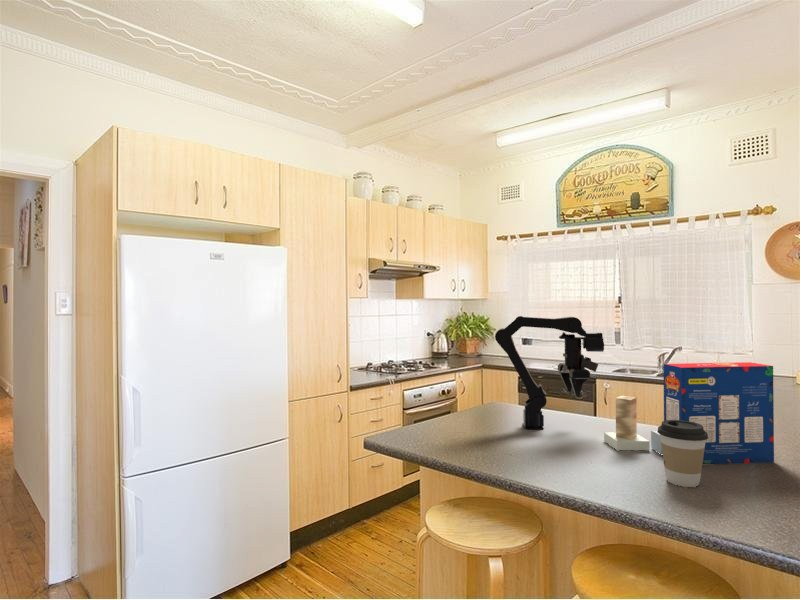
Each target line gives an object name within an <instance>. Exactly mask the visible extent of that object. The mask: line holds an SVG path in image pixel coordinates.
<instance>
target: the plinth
mask: <svg viewBox="0 0 800 600" xmlns="http://www.w3.org/2000/svg"><path fill="white" fill-rule="evenodd" d="M604 441H605V443H606V442H607V443H608V444H609V446H610V445H611V446H612V447H613V448H612V447H611V446H610V447H611V448H612V449H614V448H615V449H616V450H650V449H651V443H650V441H649V440H648V439H646V438H644V437H643V436H642V435H639V434H638V433H637V436H636V437H634V438H633V439H631V440H630V439H625V438H620V437H616V431H615V432H613V431H612V432H609V431H607V432H606V431H605V432H603V442H604ZM607 443H606V444H607ZM608 444H607V445H608ZM615 449H614V450H615ZM616 450H615V451H616Z"/></svg>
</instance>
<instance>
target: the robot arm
mask: <svg viewBox="0 0 800 600" xmlns="http://www.w3.org/2000/svg"><path fill="white" fill-rule="evenodd" d="M582 324H583V323H582V321H581V320H580V319H579V318H578V317H575V316H567V317H566V316H565V317H558V318H549V317H548V318H547V317H531V316H522V315H518V316H517V317H516V318H515V319H514V320H513V321H511V322H510V323H509V324H508V325H507V326H505V328H504V327H503V328H499V329H497V331H496V333H495V335H494V338H495V341H496V343H497V344H498V345H499V346H500V347H501V349H502V350H503V351H504V352H505V353H506V355H507V356H508V358H509V360H510V362H511V363H512V365H513V368H514V369H515V370H516V372H517V374H518V376H519V378H520V380H521V382H522V383H523V385H524V387H525V391H526V393H527V396H528V399H527V400H526V401H525V402H524V409H523V411H522V412H523V414H522V415H523V416H522V417H523V418H522V419H523V420H522V421H523V423H522V426H523V428H524V429H526V430H544V429H545V428H544V426H545V425H544V424H545V422H544V420H545V418H544V417H545V415H543V411H542V409H543V408H545V406H546V404H547V397H548V395H547V392H546V391H545V390H544V388H543V386H542V383H538V384H537V383H536V381H535V380H534V379H533V377H532V375H531V373H530V371H529V369H528V368H527V367H526V365H525V363H524V361H523V359H522V357H521V356H520V354H519V352H518V350H517V348H516V345H515V343H514V342H515V341H514V339H513V335H514V334H516V333H517V332H518V331H519V330H520V329H521V328H522V327H524V328H525V327H526V328H539V329H540V328H541V329H554V330H558V331H561V332H562V331H563V332H562V334H561V335H559V336H558V338H559V339H560V340H564V353H563V354H562V357H564V362H560V363H559V364H558V365H557V371H558V374H559V376H560V377H561V380H562V381H563V383H564V386H565V388H566V390H567V392H568V393H569V392H570V393H571V392H572V390H573V392H574V395H575V397H577V398H579V397H580V396H581V392H582V388H583V385H584V383H585V382H586V381H588V380H589V379H590V378H591V372H590V371H592V372H595V373H596V372H597V370H598V367H599V363H597V362H594V361H592V358H590V357H587V356H585V355H584V354H582V349H583V350H584V349H585V351H586V352H587V353H588V352H594V353H595V352H596V353H597V352H598V353H604V350H605V341H604V336H603V334H604V333H602V332H595V333H593V332H588V333H587V331H586V330H585V329H584V328H583V327H582V326H583V325H582ZM568 333H569V334H568ZM575 334H577V335H579V336H576V335H575ZM589 370H590V371H589Z"/></svg>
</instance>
